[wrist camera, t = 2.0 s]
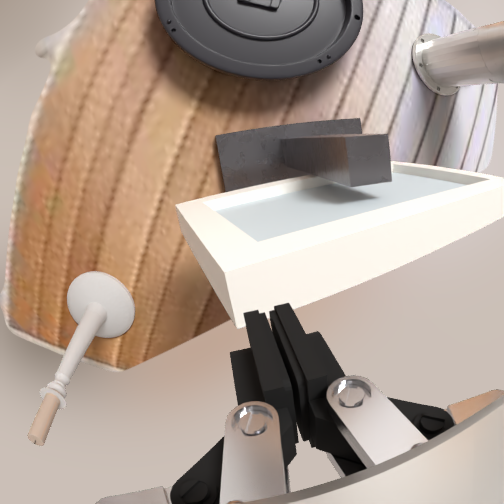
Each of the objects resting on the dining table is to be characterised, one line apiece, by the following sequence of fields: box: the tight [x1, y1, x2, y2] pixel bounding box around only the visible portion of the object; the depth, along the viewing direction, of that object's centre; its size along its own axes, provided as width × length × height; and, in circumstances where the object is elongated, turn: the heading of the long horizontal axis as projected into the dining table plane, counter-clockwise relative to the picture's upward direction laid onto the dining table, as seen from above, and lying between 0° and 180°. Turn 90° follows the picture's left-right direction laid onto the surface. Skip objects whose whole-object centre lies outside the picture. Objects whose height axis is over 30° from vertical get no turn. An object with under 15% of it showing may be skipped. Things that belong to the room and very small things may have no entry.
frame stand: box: [215, 118, 392, 192], centre depth 33 cm, size 22×9×23 cm, turn 99°
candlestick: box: [28, 271, 135, 446], centre depth 34 cm, size 13×13×30 cm
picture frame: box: [175, 161, 504, 329], centre depth 27 cm, size 30×3×20 cm, turn 100°
